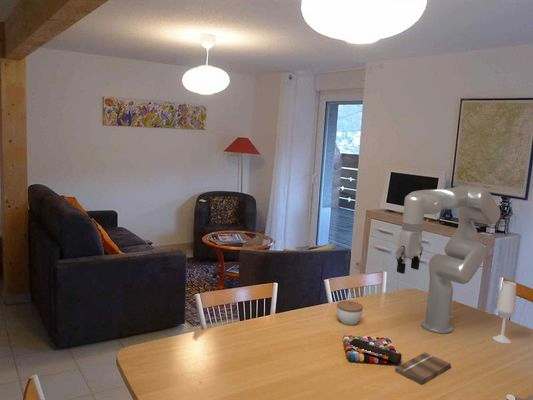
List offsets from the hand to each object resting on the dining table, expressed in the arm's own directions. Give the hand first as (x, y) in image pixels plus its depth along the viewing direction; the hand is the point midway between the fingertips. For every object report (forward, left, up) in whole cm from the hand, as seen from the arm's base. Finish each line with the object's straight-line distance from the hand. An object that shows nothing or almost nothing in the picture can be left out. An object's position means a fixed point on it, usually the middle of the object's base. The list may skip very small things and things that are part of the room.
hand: (407, 270), depth 176 cm
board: (+14, +18, -28) cm, 36 cm away
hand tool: (+21, +2, -29) cm, 35 cm away
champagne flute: (-36, +24, -28) cm, 52 cm away
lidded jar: (+4, -23, -28) cm, 37 cm away
